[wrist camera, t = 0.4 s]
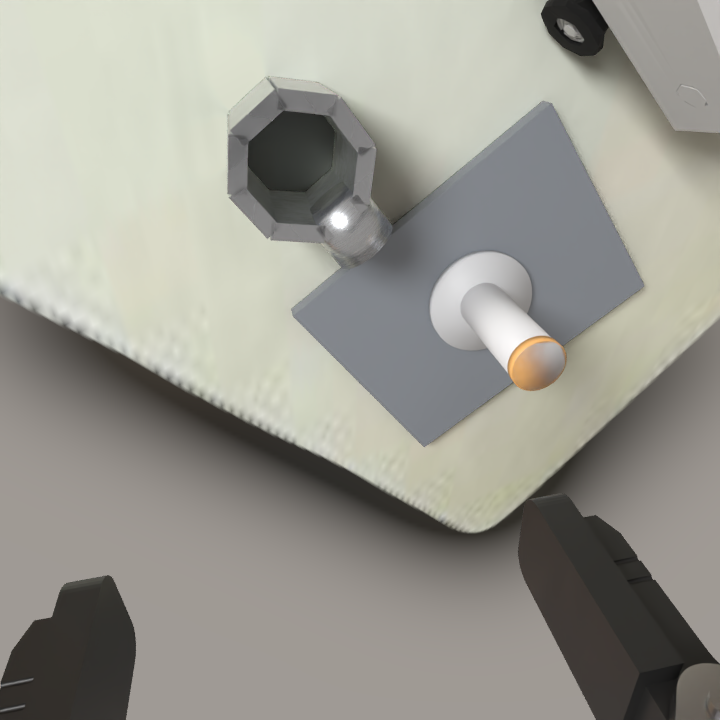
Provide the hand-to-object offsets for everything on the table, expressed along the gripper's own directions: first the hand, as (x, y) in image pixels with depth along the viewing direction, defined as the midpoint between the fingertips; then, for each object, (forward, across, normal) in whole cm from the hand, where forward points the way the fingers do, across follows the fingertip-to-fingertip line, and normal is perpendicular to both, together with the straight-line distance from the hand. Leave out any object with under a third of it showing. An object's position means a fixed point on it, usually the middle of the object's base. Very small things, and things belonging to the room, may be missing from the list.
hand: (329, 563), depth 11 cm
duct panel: (+24, -12, +6) cm, 27 cm away
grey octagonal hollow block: (+24, -2, -3) cm, 24 cm away
